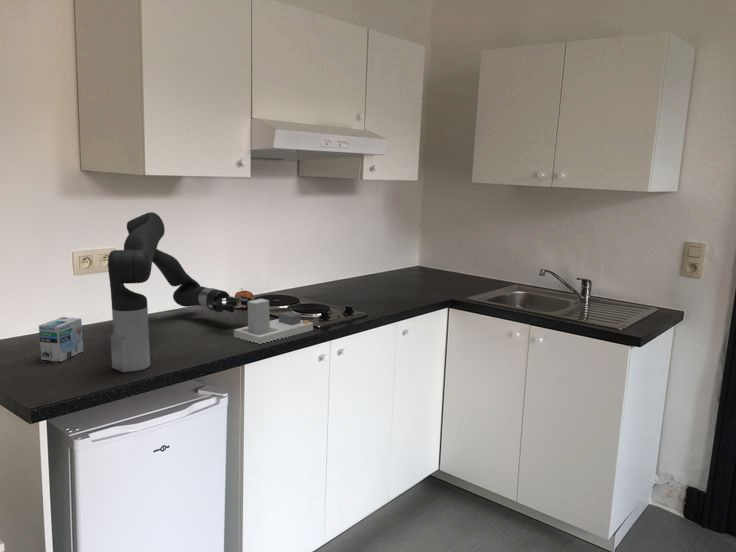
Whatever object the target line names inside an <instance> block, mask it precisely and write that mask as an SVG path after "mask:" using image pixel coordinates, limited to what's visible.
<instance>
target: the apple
mask: <svg viewBox="0 0 736 552" xmlns="http://www.w3.org/2000/svg"><path fill="white" fill-rule="evenodd" d="M240 288H241V291H237V292H235V295H234V297H238V296H243V297H248V298H251V301H253V300H254V294H253V292H251V291H248V290H243V289H242V287H240ZM237 305H239V303H238V302H237ZM240 309H243V310H245V309H248V308H247V307H244V306H242V307H240Z"/></svg>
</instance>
